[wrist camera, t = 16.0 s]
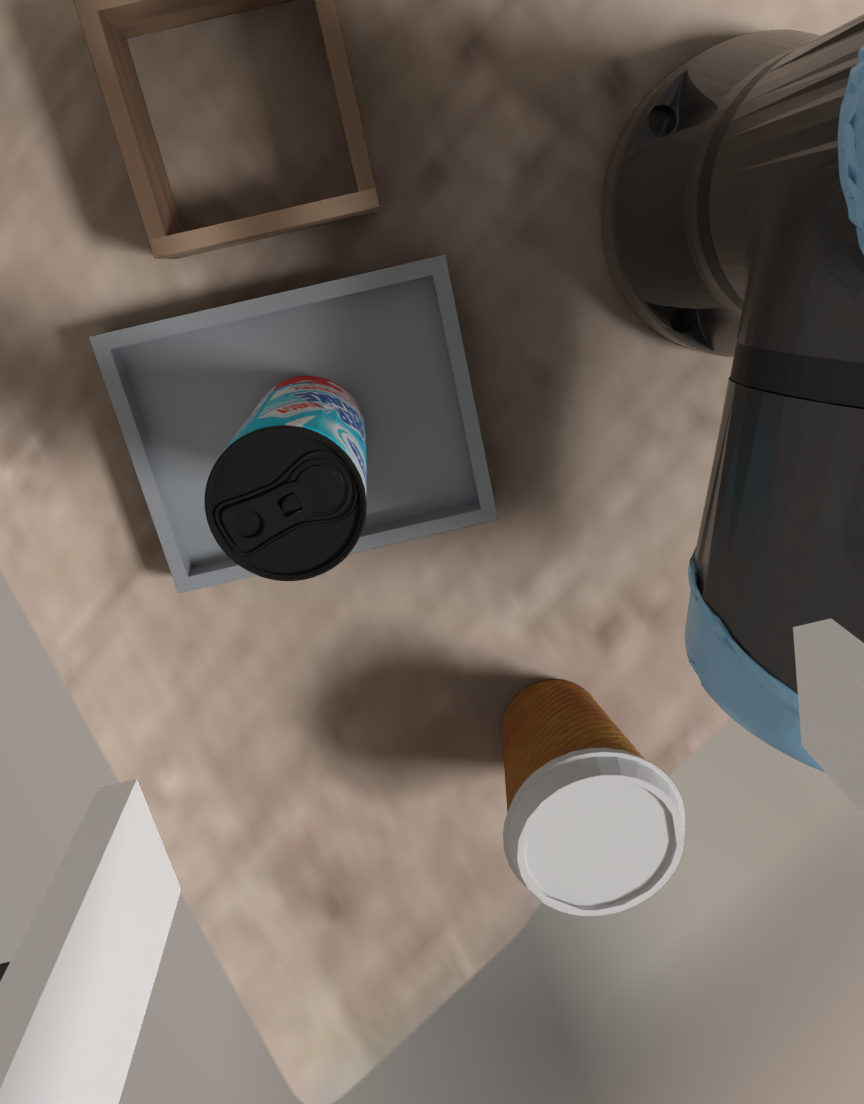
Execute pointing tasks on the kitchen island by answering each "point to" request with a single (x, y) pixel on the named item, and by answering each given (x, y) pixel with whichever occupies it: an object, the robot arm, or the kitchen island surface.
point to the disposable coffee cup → (584, 805)
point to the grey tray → (291, 351)
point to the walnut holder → (107, 20)
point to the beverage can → (292, 482)
